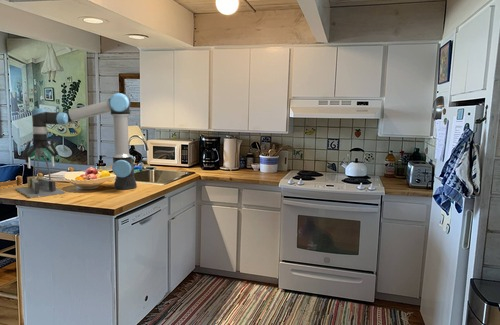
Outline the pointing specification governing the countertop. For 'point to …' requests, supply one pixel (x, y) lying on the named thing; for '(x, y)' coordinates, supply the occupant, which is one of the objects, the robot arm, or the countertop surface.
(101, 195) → the countertop surface
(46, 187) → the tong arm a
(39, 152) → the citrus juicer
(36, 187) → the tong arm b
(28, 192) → the cutting board
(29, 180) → the pivot block
